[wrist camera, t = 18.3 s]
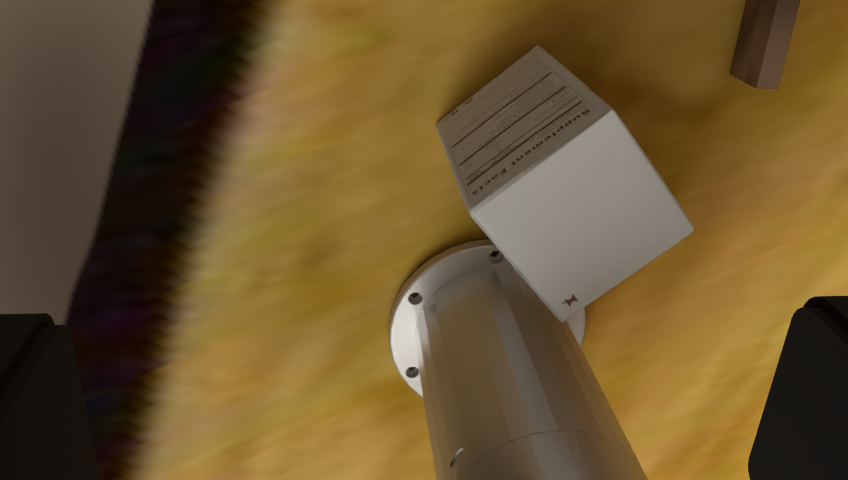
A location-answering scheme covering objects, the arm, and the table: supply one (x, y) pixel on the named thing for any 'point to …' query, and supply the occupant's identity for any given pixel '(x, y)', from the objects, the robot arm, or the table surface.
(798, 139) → the table surface
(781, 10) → the bay
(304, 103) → the table surface
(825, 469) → the robot arm
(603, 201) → the supplement box
